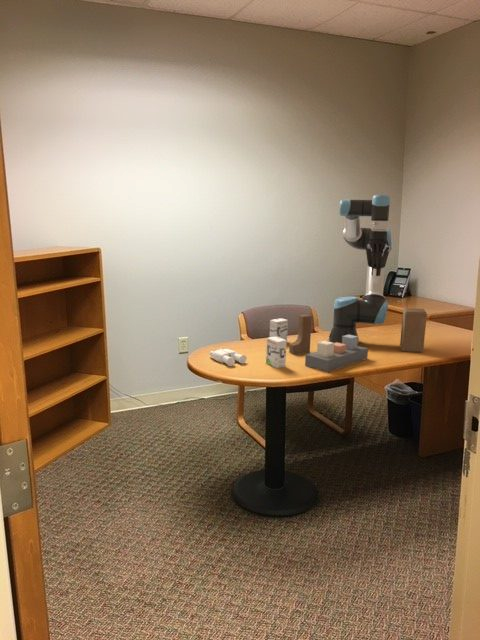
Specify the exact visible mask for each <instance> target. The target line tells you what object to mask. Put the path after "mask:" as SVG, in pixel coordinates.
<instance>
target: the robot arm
mask: <svg viewBox="0 0 480 640" xmlns="http://www.w3.org/2000/svg"><path fill="white" fill-rule="evenodd" d="M390 205H391V197H390V195H389V194H374V195H373V196H372V199H350V198H348V199H341V200H340V202H339V215H340V216H341V217H344V220H343V221H344V230H343V232H342V236H343V237H342V238H343V239H344V241H345V242H346V244H347V245H349V246H350V247H352V248H354V249H356V250H363V251H365V254H366V259H367V269H366V284H365V294H364V295H363V296H362V297H361V298H362V299H359V298H358V297H357V296H352V295H351V296H343V297H341V296H340V297H338V298H335V300H334V305H333V321H332V328H331V330H330V333H329V336H328V342H332V343H336V342H337V343H341V344H342V336H345V335H354V336H358V343H357V345H358V344H359V340H360V339H359V335H358V331H357V324H368V325H369V324H372V325H383V324H385V321H386V319H387V313H388V307H389V301H387V300H386V296H384V278H385V267H386V265H387V261H388V259H389V258H388V257H389V254H390V252H391V250H392V233H391V230H390V229H389V217H390V216H389V215H390ZM361 217H371V219H370V227H361Z"/></svg>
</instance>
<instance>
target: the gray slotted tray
mask: <svg viewBox="0 0 480 640" xmlns="http://www.w3.org/2000/svg"><path fill="white" fill-rule="evenodd" d="M368 352H369V348H368V347H363V346H360V345H357V349H354V350H347V349H346V352H344V353H340V354H337V353H333V356H330V357H327V358H326V357H322V356H318V355H317V350H316V351H313V352H310V353H305V358H304V359H305V360H304V361H305V362H304V367H309V368H312V369H314V370H315V369H316V370H318V369H319V371H321V372H325V371H326V373H328V372H332V371H335V370H337V369H341V368H344V367H348V366H349V365H353V364H356V363H360V362H362V361H366V360H368V356H369V353H368Z"/></svg>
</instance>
